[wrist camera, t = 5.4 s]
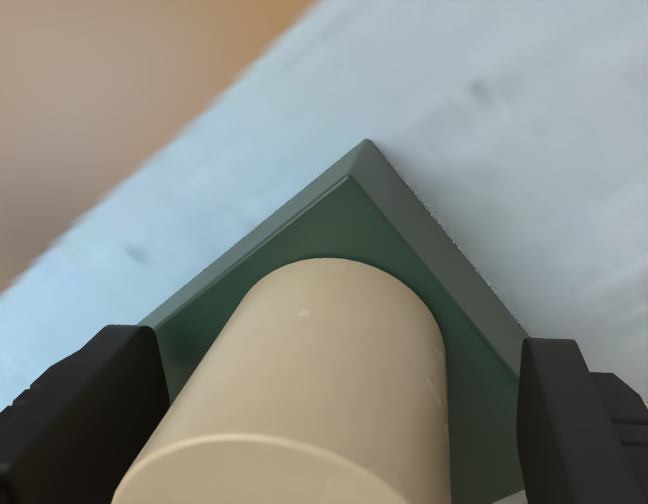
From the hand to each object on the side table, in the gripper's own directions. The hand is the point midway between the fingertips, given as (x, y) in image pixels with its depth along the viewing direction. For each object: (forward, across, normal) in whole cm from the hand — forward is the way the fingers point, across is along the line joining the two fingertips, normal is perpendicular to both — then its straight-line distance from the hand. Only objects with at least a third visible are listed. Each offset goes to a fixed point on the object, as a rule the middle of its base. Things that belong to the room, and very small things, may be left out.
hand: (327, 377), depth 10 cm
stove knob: (+1, 0, 0) cm, 1 cm away
